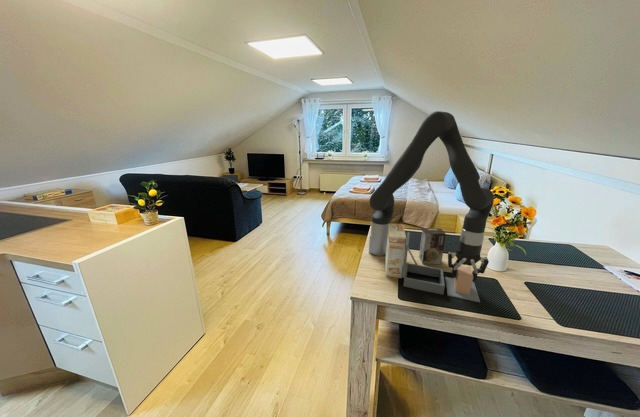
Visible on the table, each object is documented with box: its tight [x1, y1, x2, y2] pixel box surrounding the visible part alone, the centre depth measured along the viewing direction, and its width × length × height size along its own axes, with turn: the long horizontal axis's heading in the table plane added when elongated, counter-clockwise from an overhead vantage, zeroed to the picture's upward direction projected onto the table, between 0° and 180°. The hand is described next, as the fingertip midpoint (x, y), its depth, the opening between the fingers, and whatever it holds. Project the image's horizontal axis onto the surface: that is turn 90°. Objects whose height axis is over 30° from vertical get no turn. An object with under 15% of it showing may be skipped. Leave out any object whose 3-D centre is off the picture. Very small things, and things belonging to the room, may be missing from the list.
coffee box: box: [418, 227, 447, 265], centre depth 120 cm, size 9×6×16 cm
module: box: [453, 265, 473, 295], centre depth 99 cm, size 5×7×8 cm
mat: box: [444, 276, 481, 303], centre depth 101 cm, size 11×13×1 cm
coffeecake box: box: [384, 223, 407, 279], centre depth 113 cm, size 15×7×20 cm, turn 166°
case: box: [401, 231, 446, 296], centre depth 103 cm, size 16×13×19 cm
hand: (463, 278), depth 99 cm, fingers open, 6 cm apart
